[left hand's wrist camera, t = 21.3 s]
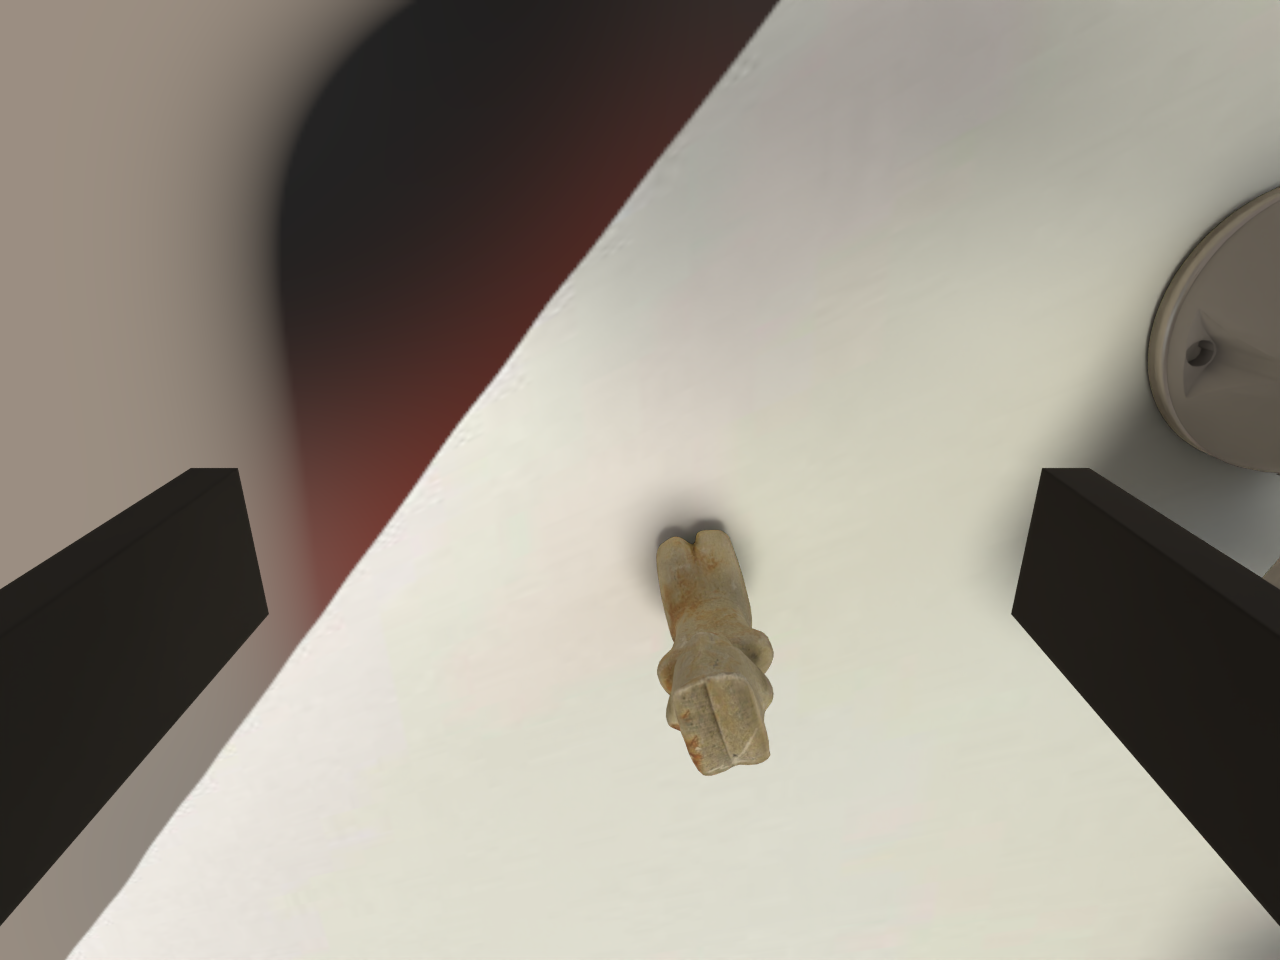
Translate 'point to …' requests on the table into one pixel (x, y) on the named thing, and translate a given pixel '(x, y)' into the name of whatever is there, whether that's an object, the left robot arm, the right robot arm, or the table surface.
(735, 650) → the sculpture
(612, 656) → the table surface
